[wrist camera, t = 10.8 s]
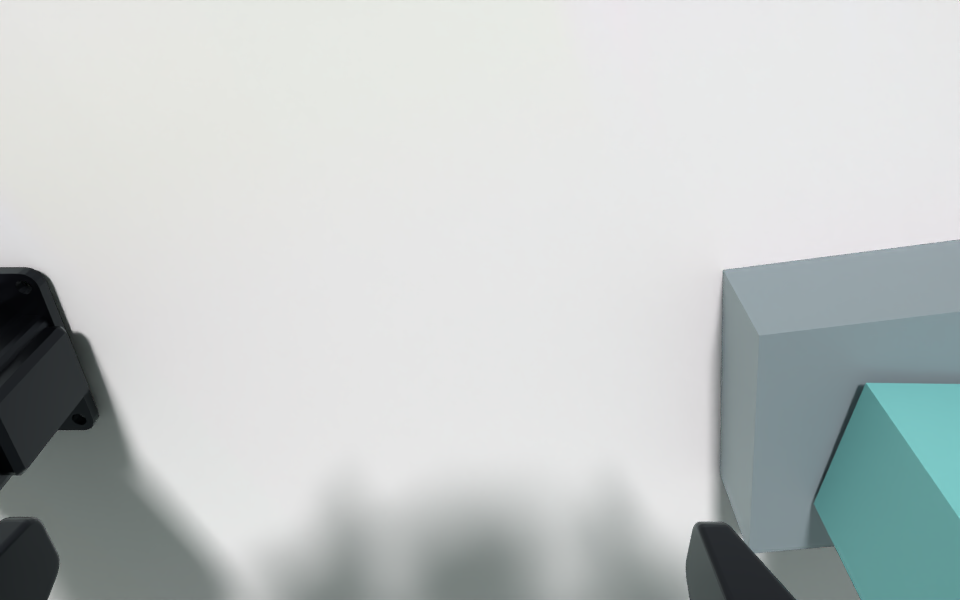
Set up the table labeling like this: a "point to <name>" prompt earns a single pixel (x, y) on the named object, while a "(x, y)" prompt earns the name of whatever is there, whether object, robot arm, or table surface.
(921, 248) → the base brick
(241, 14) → the table surface
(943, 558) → the teal block
